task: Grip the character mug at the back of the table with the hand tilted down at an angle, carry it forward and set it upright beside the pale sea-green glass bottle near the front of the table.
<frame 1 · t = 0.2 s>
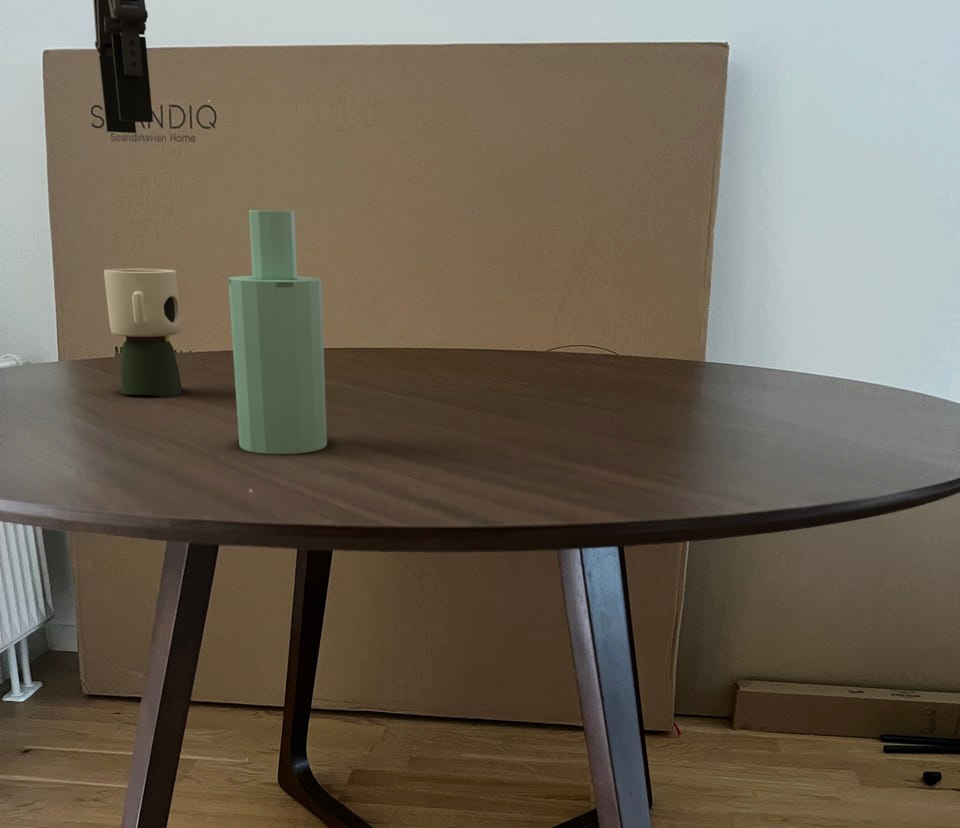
hand: (128, 127, 96), 26 cm above the table, tool pointing down, fingers open, 13 cm apart
character mug: (152, 400, 111), on the table
bottle: (283, 452, 88), on the table
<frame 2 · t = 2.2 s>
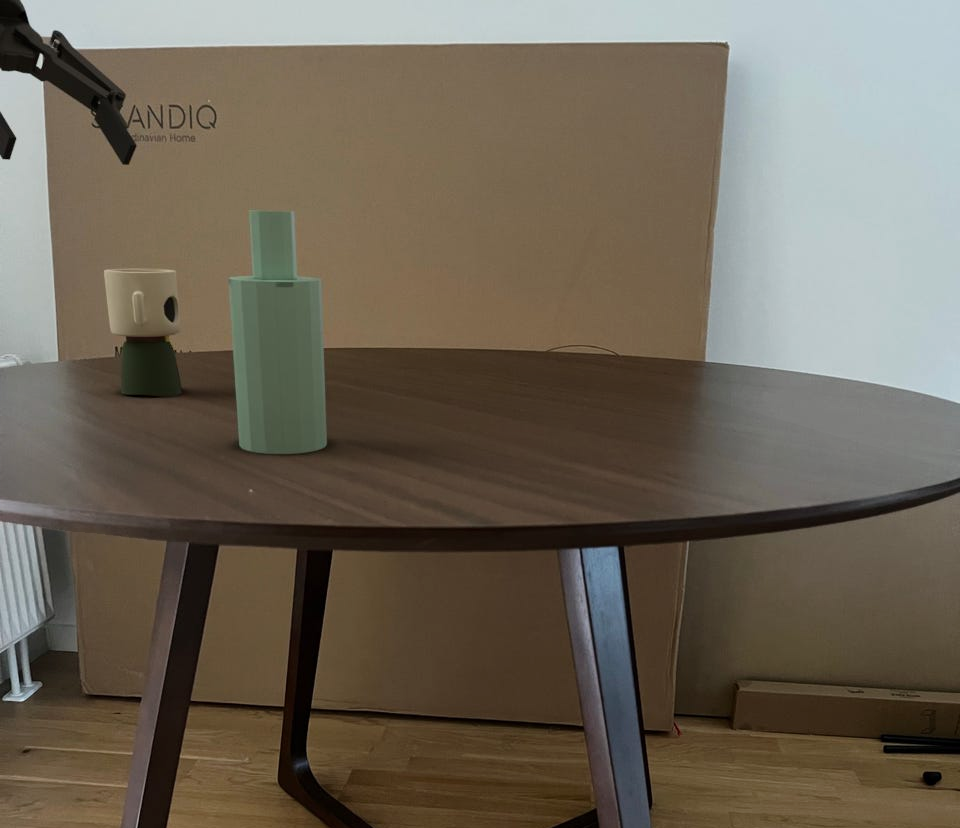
hand: (72, 152, 107), 24 cm above the table, tool tilted 45°, fingers open, 13 cm apart
nothing on the table moved.
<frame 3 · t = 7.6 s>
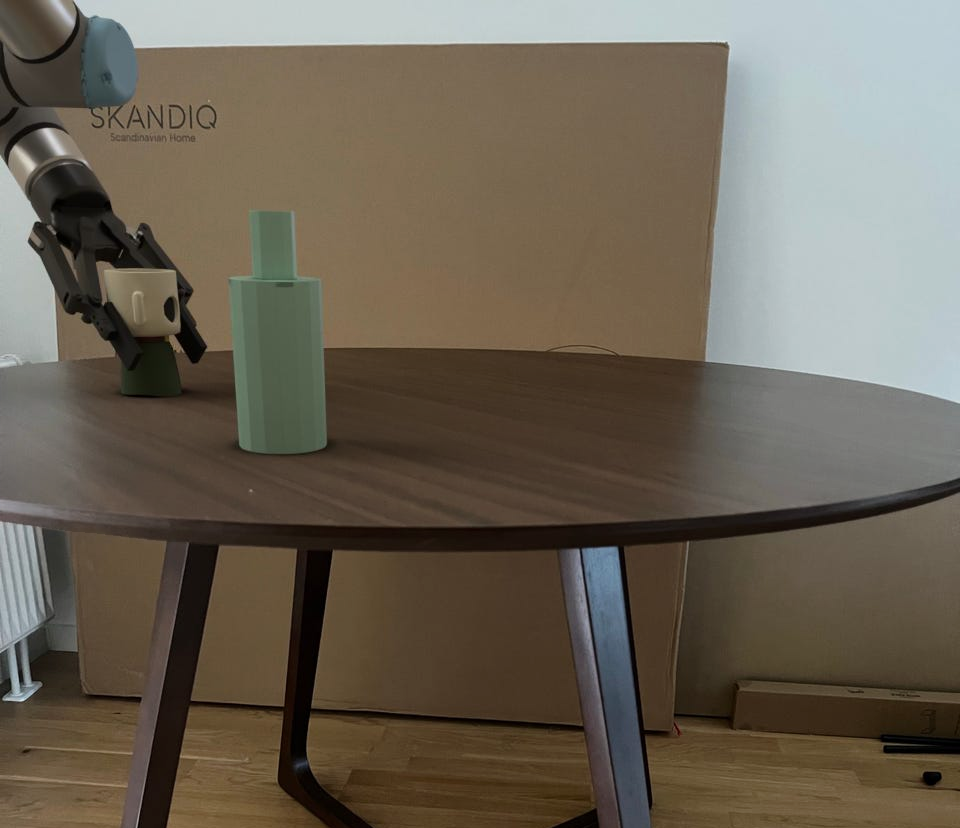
hand: (168, 358, 107), 5 cm above the table, tool tilted 45°, fingers closed on character mug, 7 cm apart
character mug: (152, 400, 111), on the table, touching gripper
everything else where it was.
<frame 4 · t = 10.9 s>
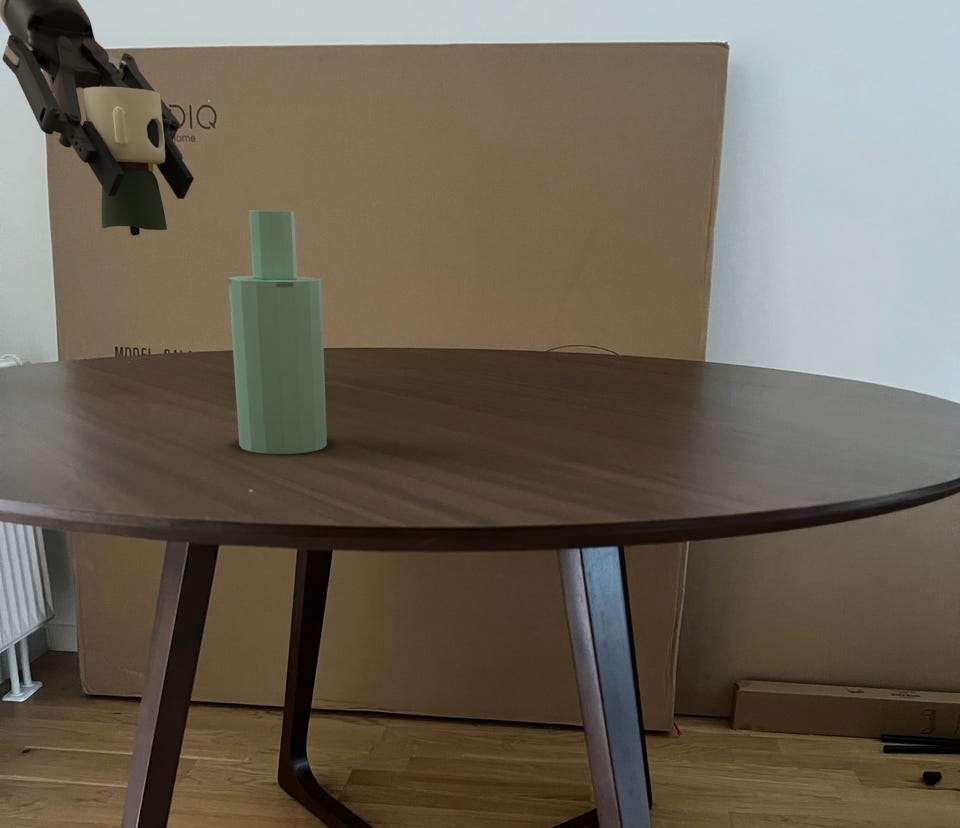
hand: (152, 186, 100), 21 cm above the table, tool tilted 45°, fingers closed on character mug, 7 cm apart
character mug: (135, 237, 104), point 16 cm above the table, touching gripper
everything else where it was.
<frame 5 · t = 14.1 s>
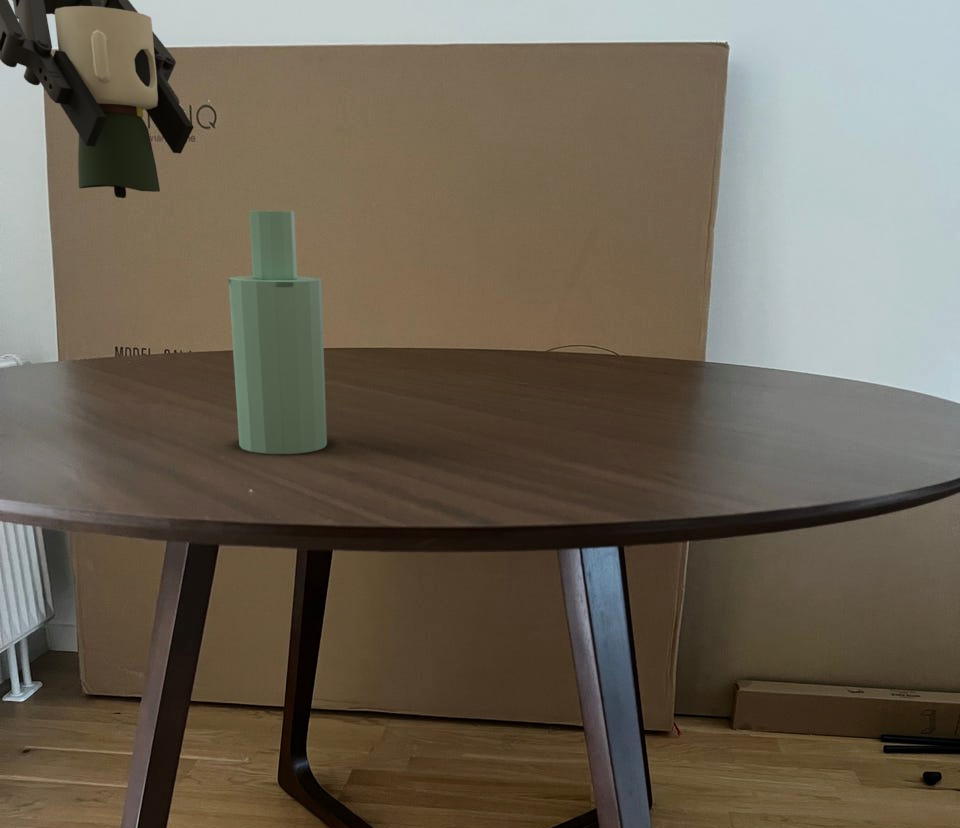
hand: (141, 135, 80), 24 cm above the table, tool tilted 45°, fingers closed on character mug, 7 cm apart
character mug: (121, 200, 84), point 19 cm above the table, touching gripper
everything else where it was.
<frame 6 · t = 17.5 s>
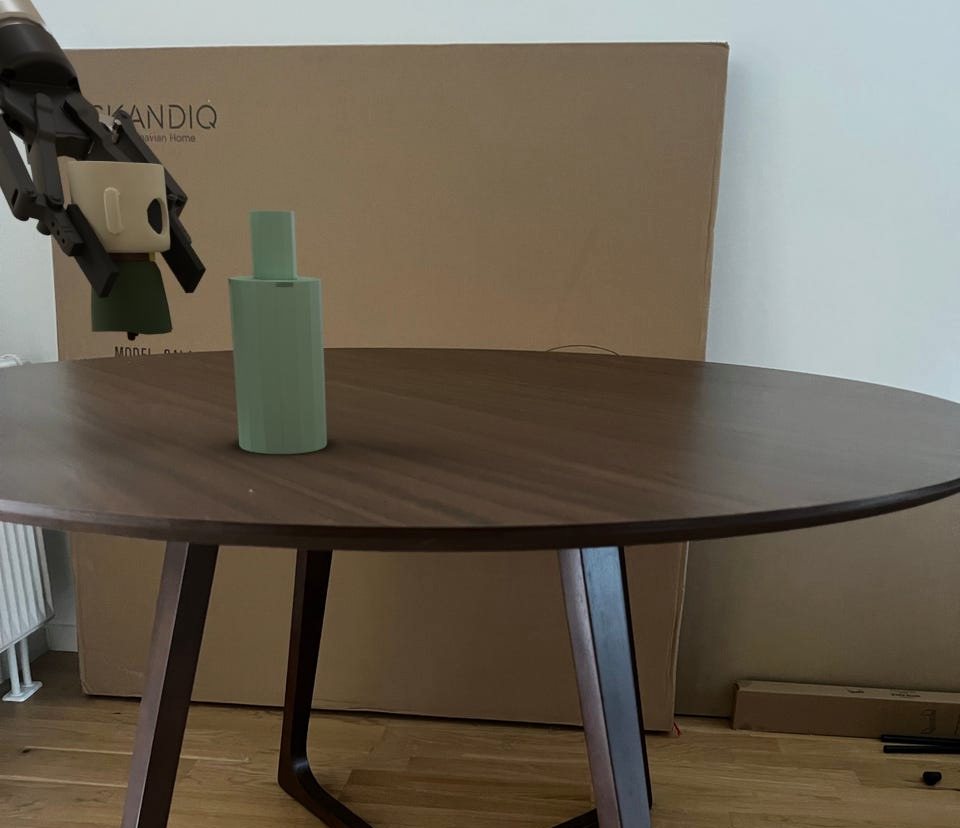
hand: (154, 282, 80), 14 cm above the table, tool tilted 45°, fingers closed on character mug, 7 cm apart
character mug: (134, 341, 84), point 9 cm above the table, touching gripper
everything else where it was.
when the fingers open (4 cm above the table, at t = 20.4 s): character mug stays where it is, on the table.
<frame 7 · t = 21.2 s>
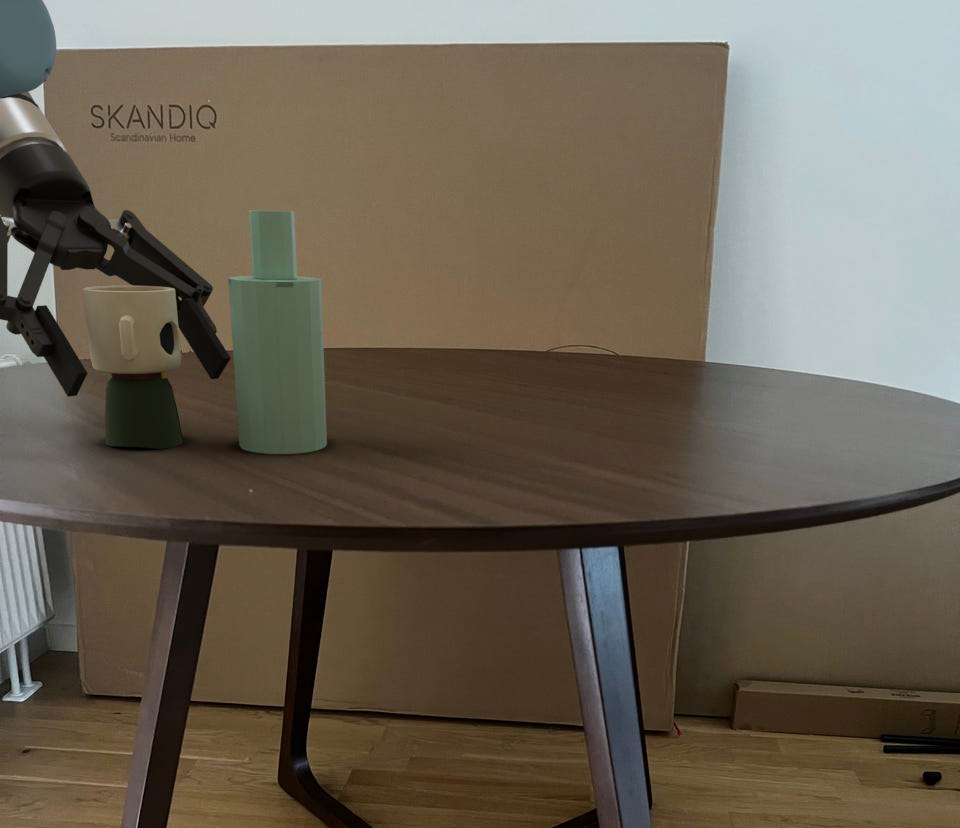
hand: (153, 377, 83), 6 cm above the table, tool tilted 45°, fingers open, 13 cm apart
character mug: (146, 451, 87), on the table
everything else where it was.
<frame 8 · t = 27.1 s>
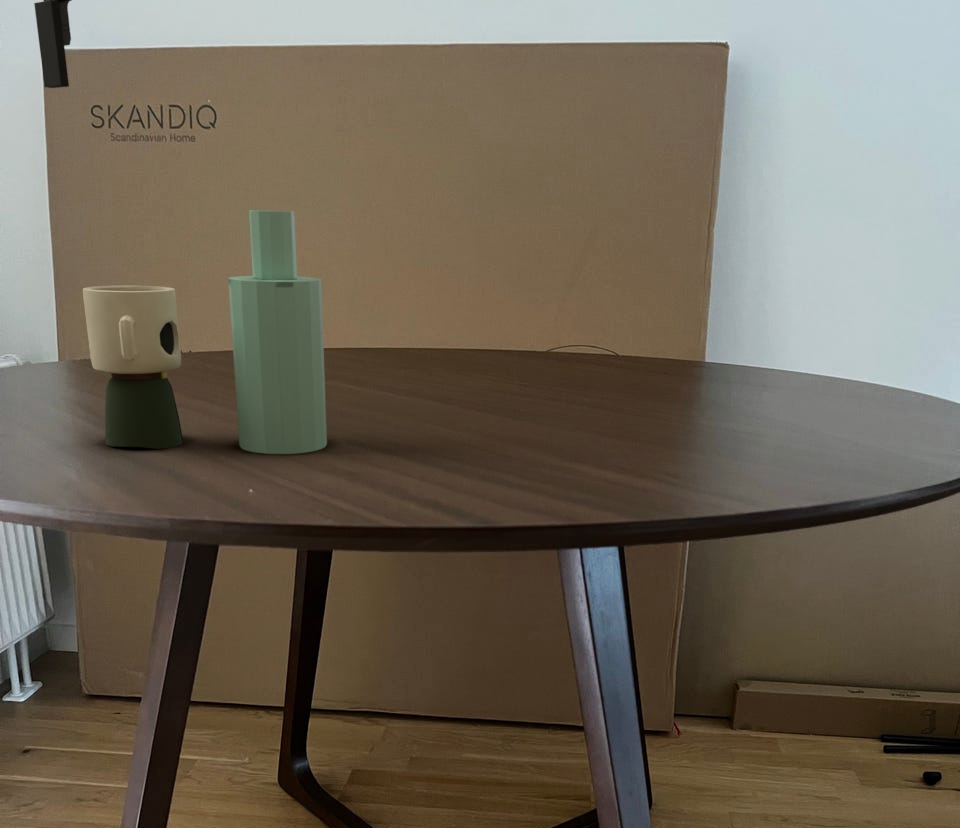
nothing on the table moved.
at the end: character mug 11.7 cm from the bottle (horizontally); character mug tilted 0°; character mug moved 26.2 cm from its start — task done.
